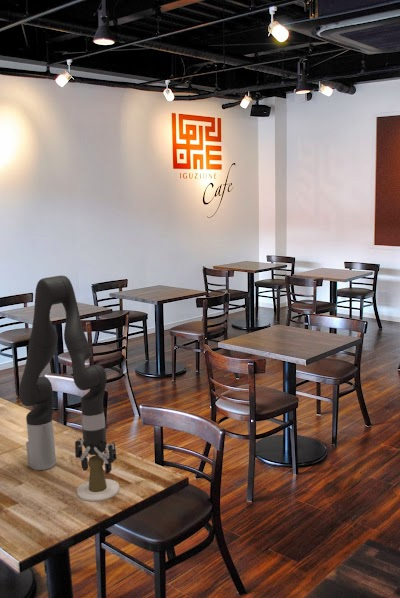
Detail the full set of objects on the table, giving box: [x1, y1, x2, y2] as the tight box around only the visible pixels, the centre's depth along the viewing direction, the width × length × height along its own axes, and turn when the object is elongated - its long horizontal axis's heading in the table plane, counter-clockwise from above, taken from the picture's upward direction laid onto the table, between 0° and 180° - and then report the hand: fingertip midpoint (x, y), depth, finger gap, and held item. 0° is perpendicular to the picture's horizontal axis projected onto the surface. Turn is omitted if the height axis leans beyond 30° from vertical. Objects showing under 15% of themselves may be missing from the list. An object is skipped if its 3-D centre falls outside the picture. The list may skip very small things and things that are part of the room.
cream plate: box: [76, 478, 120, 502], centre depth 206 cm, size 14×14×1 cm
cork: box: [88, 455, 107, 492], centre depth 205 cm, size 6×6×11 cm
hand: (96, 471), depth 205 cm, fingers open, 8 cm apart
